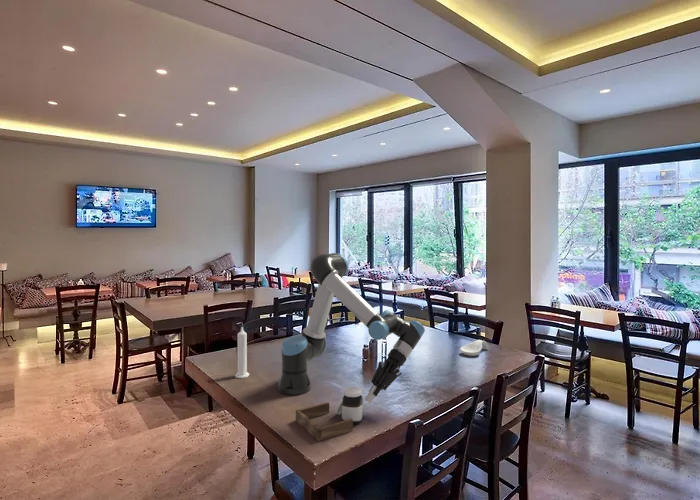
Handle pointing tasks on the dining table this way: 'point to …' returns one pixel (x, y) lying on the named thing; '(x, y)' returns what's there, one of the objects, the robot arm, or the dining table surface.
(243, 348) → the candle
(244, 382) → the dining table surface
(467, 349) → the spoon rest
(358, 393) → the spread jar
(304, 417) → the walnut bay
